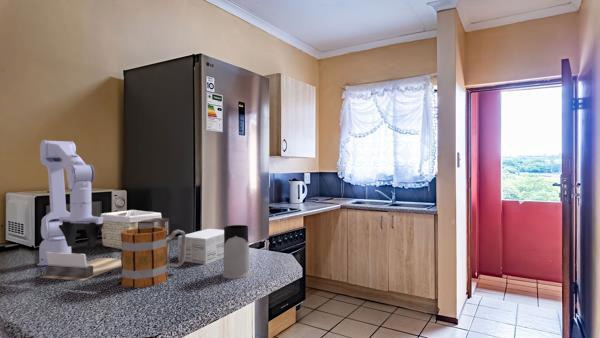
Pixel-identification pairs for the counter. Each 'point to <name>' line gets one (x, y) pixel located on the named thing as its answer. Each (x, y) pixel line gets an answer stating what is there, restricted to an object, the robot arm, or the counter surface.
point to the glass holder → (236, 252)
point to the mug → (147, 256)
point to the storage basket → (122, 225)
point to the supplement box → (203, 246)
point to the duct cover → (67, 259)
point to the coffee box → (158, 223)
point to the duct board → (83, 269)
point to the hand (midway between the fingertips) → (81, 246)
